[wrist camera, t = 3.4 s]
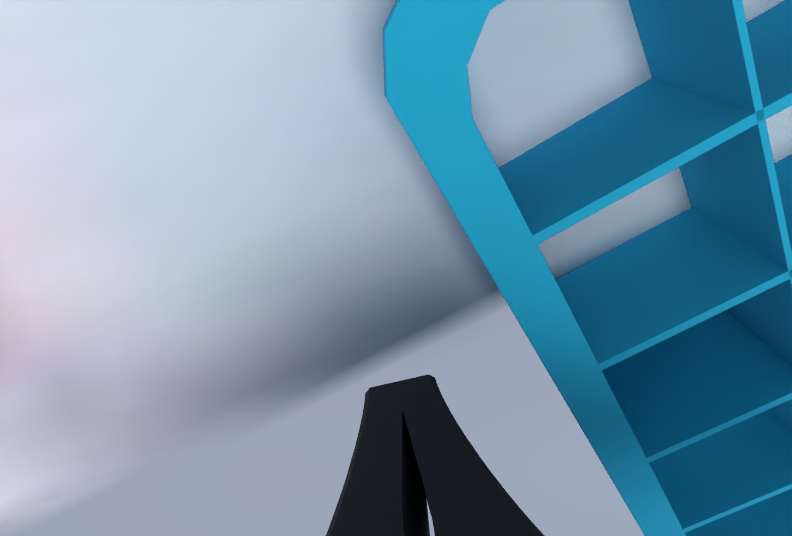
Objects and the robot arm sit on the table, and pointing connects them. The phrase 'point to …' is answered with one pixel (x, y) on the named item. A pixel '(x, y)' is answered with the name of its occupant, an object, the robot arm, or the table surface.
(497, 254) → the ice cube tray
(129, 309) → the table surface
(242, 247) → the table surface
